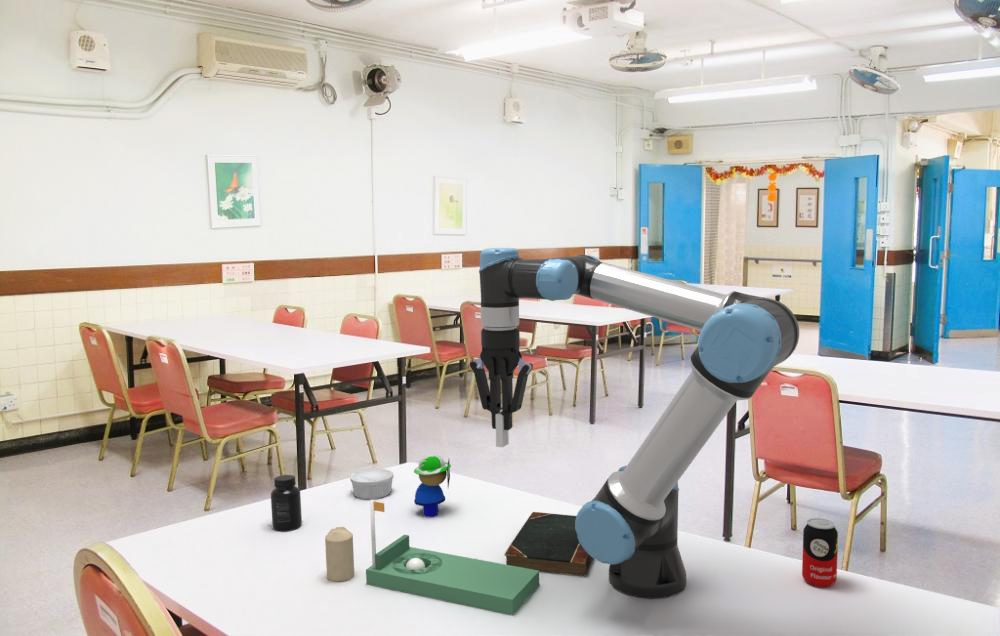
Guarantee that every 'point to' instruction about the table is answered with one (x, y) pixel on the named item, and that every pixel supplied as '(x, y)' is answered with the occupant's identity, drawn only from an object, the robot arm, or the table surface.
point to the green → (449, 575)
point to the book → (549, 546)
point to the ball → (415, 564)
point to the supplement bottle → (286, 504)
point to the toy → (431, 483)
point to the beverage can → (820, 552)
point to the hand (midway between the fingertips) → (502, 445)
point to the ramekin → (372, 483)
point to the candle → (339, 554)
